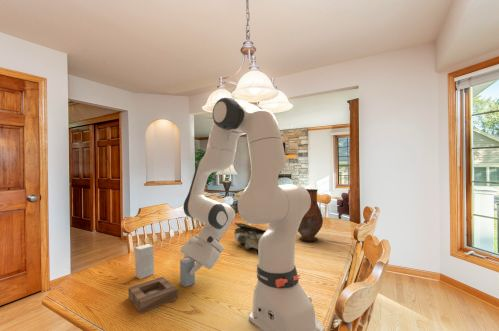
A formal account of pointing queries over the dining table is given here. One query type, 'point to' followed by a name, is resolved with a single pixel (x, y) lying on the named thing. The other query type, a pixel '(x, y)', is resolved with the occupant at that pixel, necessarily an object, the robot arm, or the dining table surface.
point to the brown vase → (311, 220)
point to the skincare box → (144, 261)
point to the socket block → (152, 294)
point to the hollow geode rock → (248, 235)
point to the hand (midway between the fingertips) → (185, 270)
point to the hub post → (186, 271)
